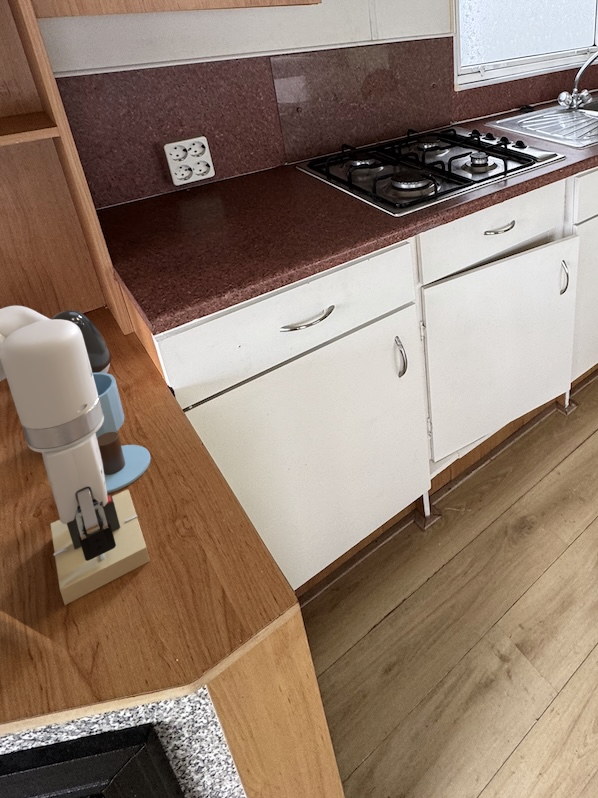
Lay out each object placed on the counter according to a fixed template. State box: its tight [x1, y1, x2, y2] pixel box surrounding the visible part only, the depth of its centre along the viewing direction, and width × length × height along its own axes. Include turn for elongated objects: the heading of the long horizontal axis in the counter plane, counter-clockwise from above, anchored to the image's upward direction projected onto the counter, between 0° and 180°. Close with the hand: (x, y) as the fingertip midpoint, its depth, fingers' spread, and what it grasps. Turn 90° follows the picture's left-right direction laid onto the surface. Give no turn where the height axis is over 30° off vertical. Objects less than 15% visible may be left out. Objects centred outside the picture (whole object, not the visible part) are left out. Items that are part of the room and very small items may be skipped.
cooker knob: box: [67, 494, 120, 549], centre depth 75 cm, size 5×2×5 cm, turn 131°
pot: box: [93, 372, 125, 438], centre depth 96 cm, size 9×9×8 cm
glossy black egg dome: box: [50, 309, 112, 373], centre depth 107 cm, size 10×10×15 cm
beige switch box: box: [50, 489, 151, 606], centre depth 76 cm, size 12×9×3 cm
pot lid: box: [97, 432, 151, 495], centre depth 88 cm, size 10×10×7 cm
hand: (95, 529), depth 75 cm, fingers open, 7 cm apart
